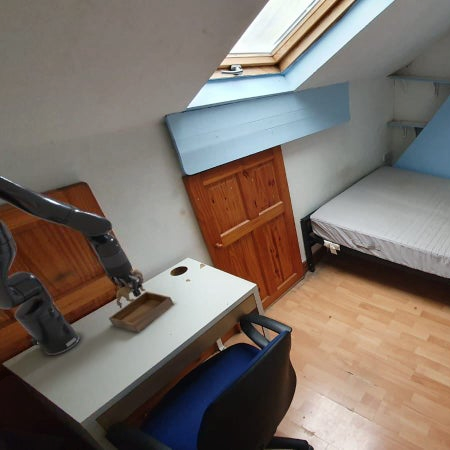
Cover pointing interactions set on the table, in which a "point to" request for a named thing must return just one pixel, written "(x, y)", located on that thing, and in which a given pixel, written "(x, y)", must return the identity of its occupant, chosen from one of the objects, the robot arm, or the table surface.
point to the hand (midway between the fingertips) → (133, 294)
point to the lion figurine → (128, 289)
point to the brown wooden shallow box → (141, 311)
